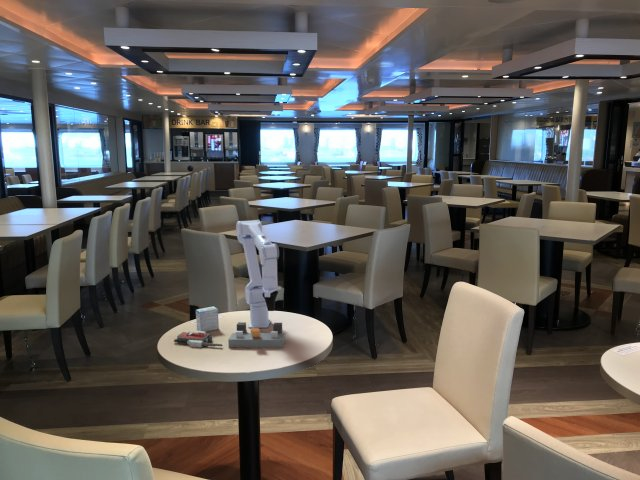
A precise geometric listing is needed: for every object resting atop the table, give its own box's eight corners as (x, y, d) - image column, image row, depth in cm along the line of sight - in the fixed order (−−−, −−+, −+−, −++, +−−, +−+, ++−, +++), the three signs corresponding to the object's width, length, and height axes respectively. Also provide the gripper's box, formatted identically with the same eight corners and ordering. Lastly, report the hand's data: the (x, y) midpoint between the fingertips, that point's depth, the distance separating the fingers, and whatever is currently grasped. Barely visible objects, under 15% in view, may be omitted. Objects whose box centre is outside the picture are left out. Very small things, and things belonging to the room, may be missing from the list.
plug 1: (242, 331, 207) (241, 317, 206) (249, 331, 207) (249, 317, 206) (237, 340, 198) (236, 324, 197) (244, 340, 198) (244, 325, 197)
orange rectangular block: (252, 334, 193) (250, 328, 189) (260, 334, 192) (258, 328, 189) (252, 337, 192) (250, 331, 188) (260, 337, 192) (258, 331, 188)
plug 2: (277, 331, 206) (276, 317, 205) (284, 331, 206) (284, 317, 205) (273, 340, 197) (273, 325, 196) (281, 340, 197) (281, 325, 196)
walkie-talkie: (171, 346, 193) (221, 350, 189) (170, 335, 193) (220, 338, 188) (182, 338, 202) (230, 341, 198) (181, 327, 201) (230, 330, 197)
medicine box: (215, 326, 214) (214, 306, 213) (219, 329, 211) (218, 308, 209) (196, 330, 210) (195, 309, 208) (200, 333, 206) (199, 312, 205)
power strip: (232, 340, 198) (232, 327, 197) (285, 340, 196) (284, 328, 196) (228, 347, 191) (228, 334, 190) (282, 347, 189) (282, 334, 189)
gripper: (277, 280, 190) (278, 316, 192) (282, 271, 204) (283, 305, 207) (258, 280, 191) (259, 316, 193) (264, 271, 205) (266, 305, 207)
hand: (270, 310), depth 200 cm, fingers closed
